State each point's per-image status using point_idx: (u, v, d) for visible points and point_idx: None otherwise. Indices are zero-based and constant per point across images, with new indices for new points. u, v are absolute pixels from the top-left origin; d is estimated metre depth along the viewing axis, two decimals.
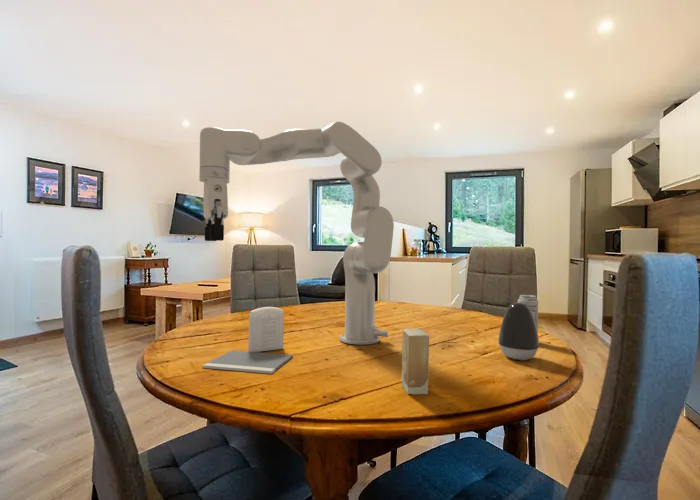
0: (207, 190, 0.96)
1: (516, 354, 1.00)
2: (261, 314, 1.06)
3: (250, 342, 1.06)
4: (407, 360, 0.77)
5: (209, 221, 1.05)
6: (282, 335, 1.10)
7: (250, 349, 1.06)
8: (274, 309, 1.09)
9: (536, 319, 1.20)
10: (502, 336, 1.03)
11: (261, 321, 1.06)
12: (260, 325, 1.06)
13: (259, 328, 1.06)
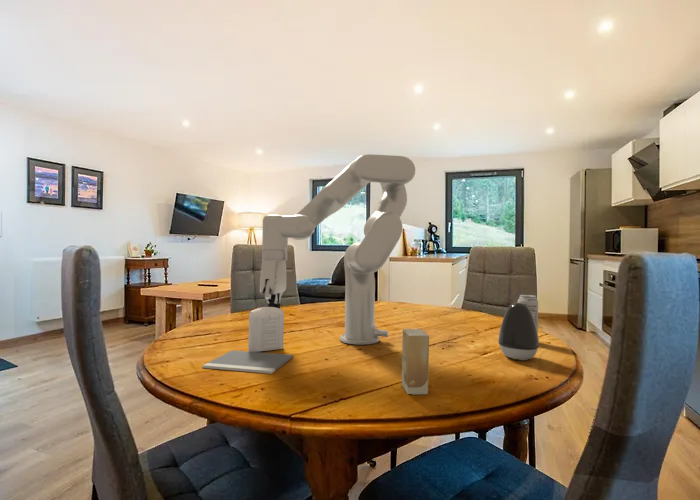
0: (285, 270, 1.17)
1: (516, 354, 1.00)
2: (261, 314, 1.06)
3: (250, 342, 1.06)
4: (407, 360, 0.77)
5: None
6: (282, 335, 1.10)
7: (250, 349, 1.06)
8: (274, 309, 1.09)
9: (536, 319, 1.20)
10: (502, 336, 1.03)
11: (261, 321, 1.06)
12: (260, 325, 1.06)
13: (259, 328, 1.06)
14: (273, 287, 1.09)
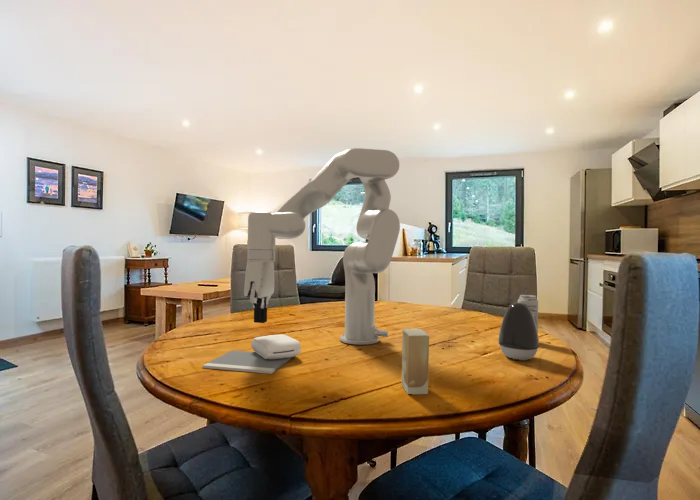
0: (273, 271, 1.08)
1: (516, 354, 1.00)
2: None
3: (255, 349, 1.02)
4: (407, 360, 0.77)
5: (260, 298, 1.04)
6: None
7: None
8: (291, 355, 0.98)
9: (536, 319, 1.20)
10: (502, 336, 1.03)
11: None
12: None
13: None
14: (259, 290, 1.00)
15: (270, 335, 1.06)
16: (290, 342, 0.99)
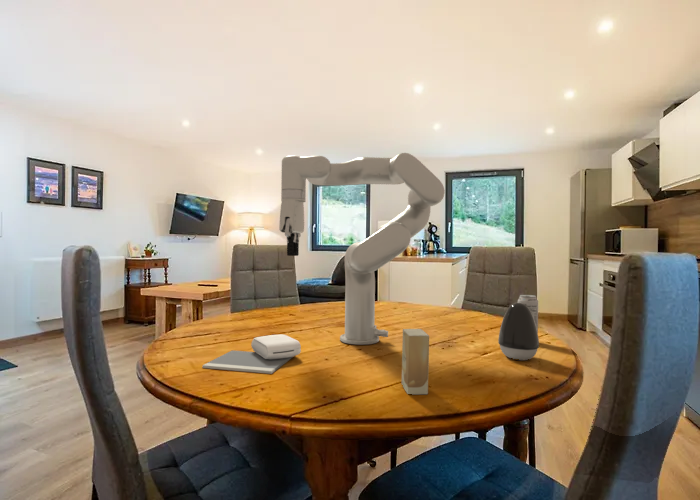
0: (303, 212, 1.21)
1: (516, 354, 1.00)
2: None
3: (255, 349, 1.02)
4: (407, 360, 0.77)
5: None
6: None
7: None
8: (291, 355, 0.98)
9: (536, 319, 1.20)
10: (502, 336, 1.03)
11: None
12: None
13: None
14: (293, 224, 1.13)
15: (270, 335, 1.06)
16: (290, 342, 0.99)
